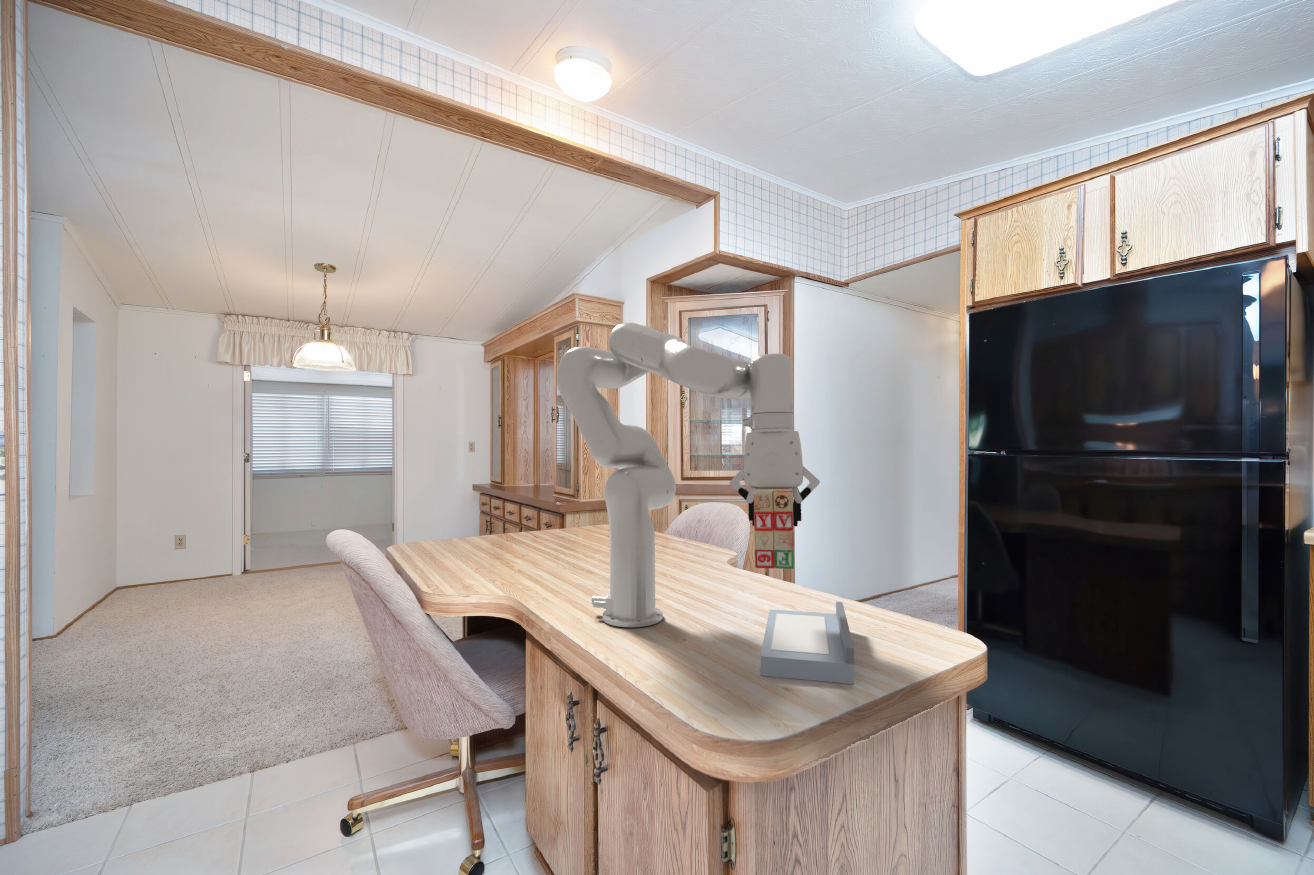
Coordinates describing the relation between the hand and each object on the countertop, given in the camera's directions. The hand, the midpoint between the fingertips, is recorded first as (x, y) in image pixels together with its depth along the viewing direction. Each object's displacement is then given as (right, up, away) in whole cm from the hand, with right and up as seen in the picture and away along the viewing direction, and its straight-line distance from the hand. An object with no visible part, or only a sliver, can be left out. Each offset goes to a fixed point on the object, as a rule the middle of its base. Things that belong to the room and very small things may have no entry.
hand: (775, 524), depth 100 cm
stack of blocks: (0, -6, 0) cm, 6 cm away
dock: (+5, -22, -1) cm, 23 cm away
